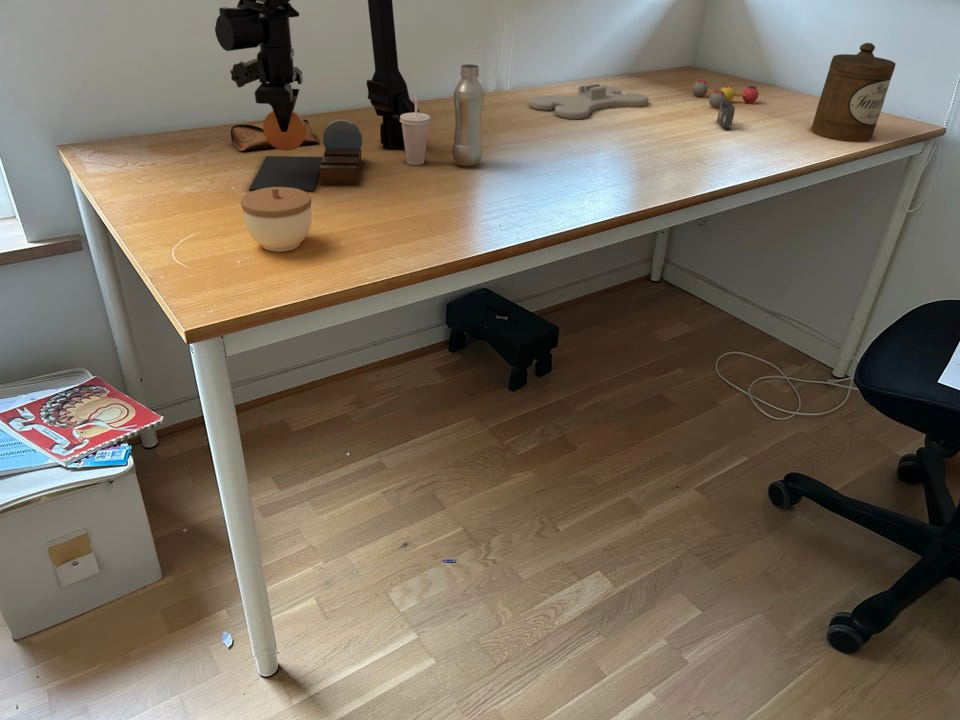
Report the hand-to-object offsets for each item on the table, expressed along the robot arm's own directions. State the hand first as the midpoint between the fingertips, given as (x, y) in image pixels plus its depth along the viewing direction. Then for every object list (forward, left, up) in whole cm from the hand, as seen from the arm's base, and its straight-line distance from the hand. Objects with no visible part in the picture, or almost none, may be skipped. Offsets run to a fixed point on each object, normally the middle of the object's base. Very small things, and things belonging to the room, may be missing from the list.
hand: (284, 130), depth 143 cm
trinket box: (-3, +35, -9) cm, 36 cm away
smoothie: (-25, -8, -9) cm, 28 cm away
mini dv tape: (-106, -42, -9) cm, 115 cm away
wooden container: (-136, -37, -9) cm, 142 cm away
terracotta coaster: (0, 0, 0) cm, 0 cm away
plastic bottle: (-36, -7, -9) cm, 38 cm away
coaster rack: (-10, -1, -9) cm, 14 cm away
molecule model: (-117, -68, -9) cm, 136 cm away
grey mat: (0, 0, -9) cm, 9 cm away
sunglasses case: (+6, -20, -9) cm, 23 cm away
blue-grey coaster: (-10, -7, -4) cm, 13 cm away
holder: (-74, -61, -9) cm, 97 cm away
